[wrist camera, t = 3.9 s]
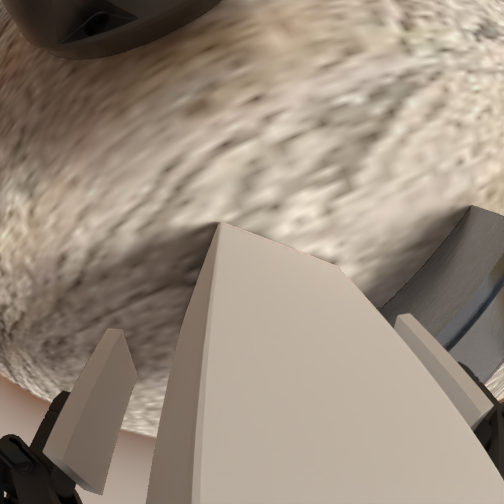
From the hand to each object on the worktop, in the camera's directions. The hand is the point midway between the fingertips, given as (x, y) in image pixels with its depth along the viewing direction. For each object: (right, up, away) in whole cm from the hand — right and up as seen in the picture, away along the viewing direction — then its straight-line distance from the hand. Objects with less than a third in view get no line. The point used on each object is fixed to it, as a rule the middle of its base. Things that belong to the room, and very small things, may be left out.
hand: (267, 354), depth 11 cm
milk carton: (0, +2, +5) cm, 5 cm away
